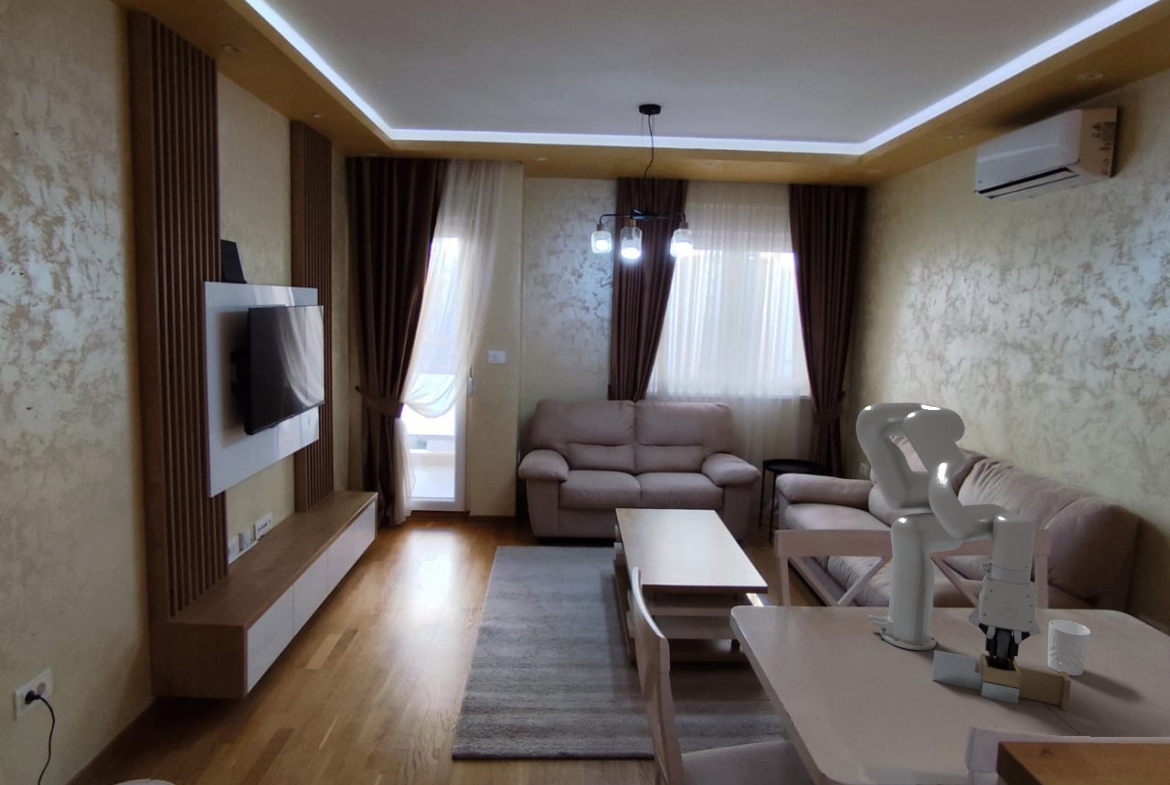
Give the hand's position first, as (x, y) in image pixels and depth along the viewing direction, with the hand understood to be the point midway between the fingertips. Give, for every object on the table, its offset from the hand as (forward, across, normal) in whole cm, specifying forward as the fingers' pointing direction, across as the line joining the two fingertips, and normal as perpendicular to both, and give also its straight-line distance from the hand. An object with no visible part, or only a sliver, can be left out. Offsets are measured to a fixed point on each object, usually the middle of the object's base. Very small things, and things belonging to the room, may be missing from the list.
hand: (1000, 655), depth 150 cm
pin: (+4, 0, 0) cm, 4 cm away
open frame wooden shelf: (+8, +4, 0) cm, 9 cm away
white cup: (+8, +16, +19) cm, 26 cm away
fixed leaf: (+8, -5, 0) cm, 9 cm away
